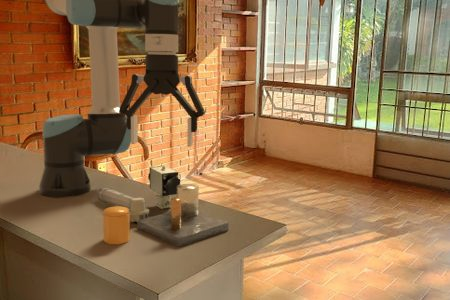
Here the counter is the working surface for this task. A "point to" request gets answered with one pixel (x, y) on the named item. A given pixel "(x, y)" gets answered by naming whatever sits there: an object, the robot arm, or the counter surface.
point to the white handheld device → (125, 203)
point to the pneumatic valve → (163, 184)
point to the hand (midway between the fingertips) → (162, 144)
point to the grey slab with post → (183, 220)
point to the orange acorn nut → (116, 225)
